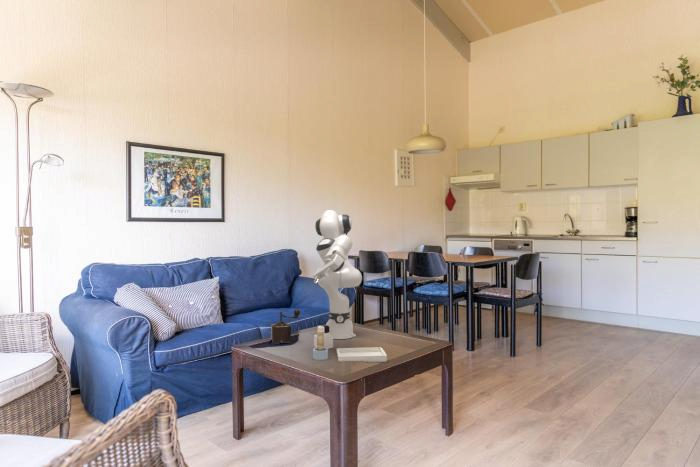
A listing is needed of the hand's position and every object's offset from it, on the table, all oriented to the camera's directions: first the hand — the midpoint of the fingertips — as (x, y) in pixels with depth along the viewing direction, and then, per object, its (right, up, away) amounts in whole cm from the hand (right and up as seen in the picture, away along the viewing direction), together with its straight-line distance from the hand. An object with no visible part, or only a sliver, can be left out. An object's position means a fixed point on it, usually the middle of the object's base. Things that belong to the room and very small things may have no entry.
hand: (320, 279), depth 217 cm
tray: (+19, -37, -3) cm, 41 cm away
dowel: (0, -36, -6) cm, 36 cm away
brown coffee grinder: (-21, -37, +32) cm, 54 cm away
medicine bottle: (+1, -37, +15) cm, 40 cm away
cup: (0, -37, -6) cm, 37 cm away
